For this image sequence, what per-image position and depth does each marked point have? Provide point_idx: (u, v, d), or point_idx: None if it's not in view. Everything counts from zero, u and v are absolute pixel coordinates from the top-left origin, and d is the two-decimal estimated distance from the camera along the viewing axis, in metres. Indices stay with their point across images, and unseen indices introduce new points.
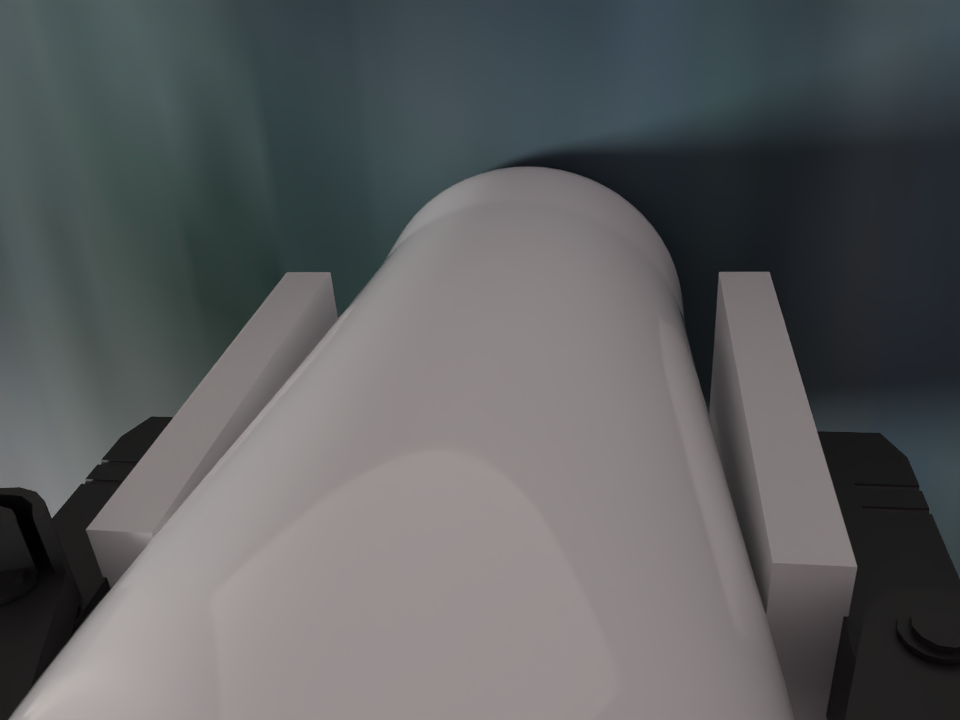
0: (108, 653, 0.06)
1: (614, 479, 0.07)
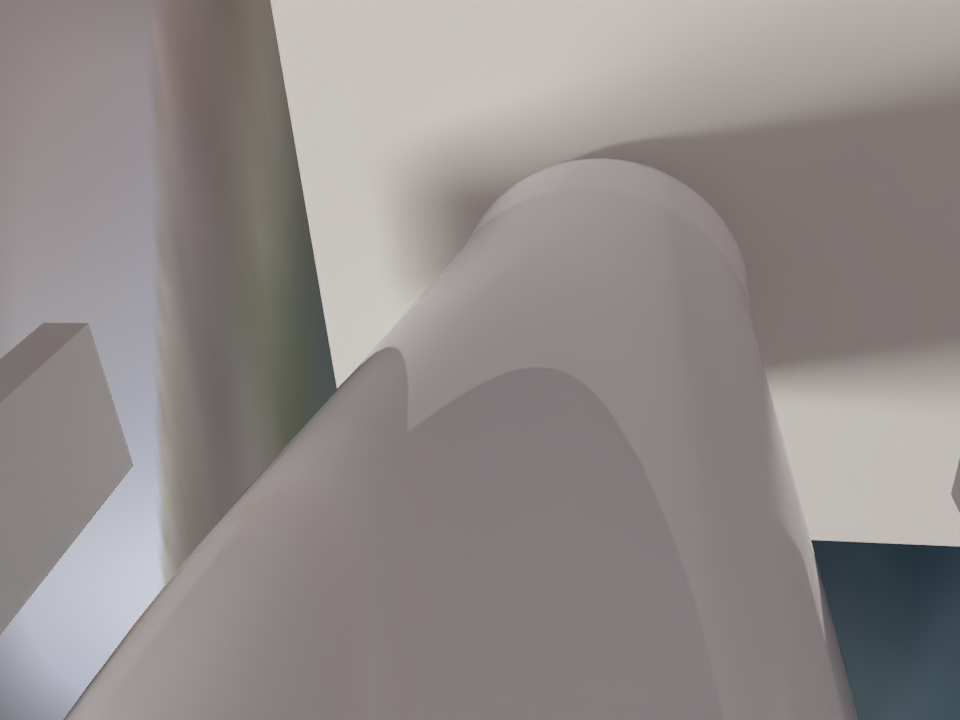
0: (238, 554, 0.07)
1: (686, 436, 0.08)
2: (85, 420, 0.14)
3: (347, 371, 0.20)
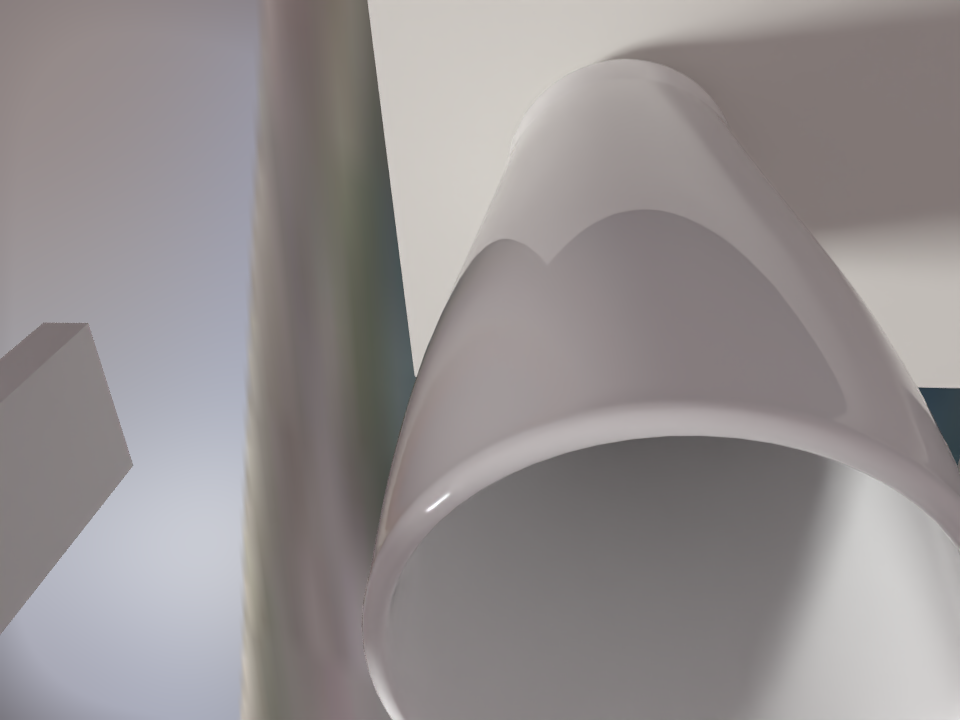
0: (530, 260, 0.11)
1: (765, 198, 0.13)
2: (85, 420, 0.14)
3: (409, 245, 0.24)
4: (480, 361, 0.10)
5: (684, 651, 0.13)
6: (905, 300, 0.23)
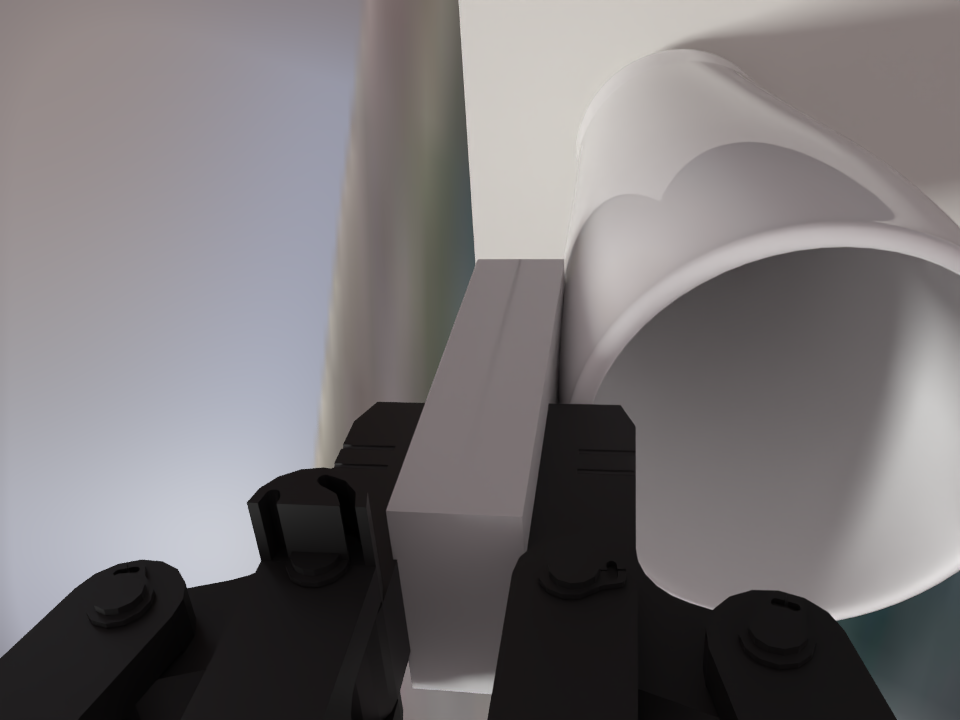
0: (672, 163, 0.14)
1: (837, 131, 0.16)
2: None
3: (481, 213, 0.28)
4: (653, 224, 0.13)
5: (775, 500, 0.16)
6: None
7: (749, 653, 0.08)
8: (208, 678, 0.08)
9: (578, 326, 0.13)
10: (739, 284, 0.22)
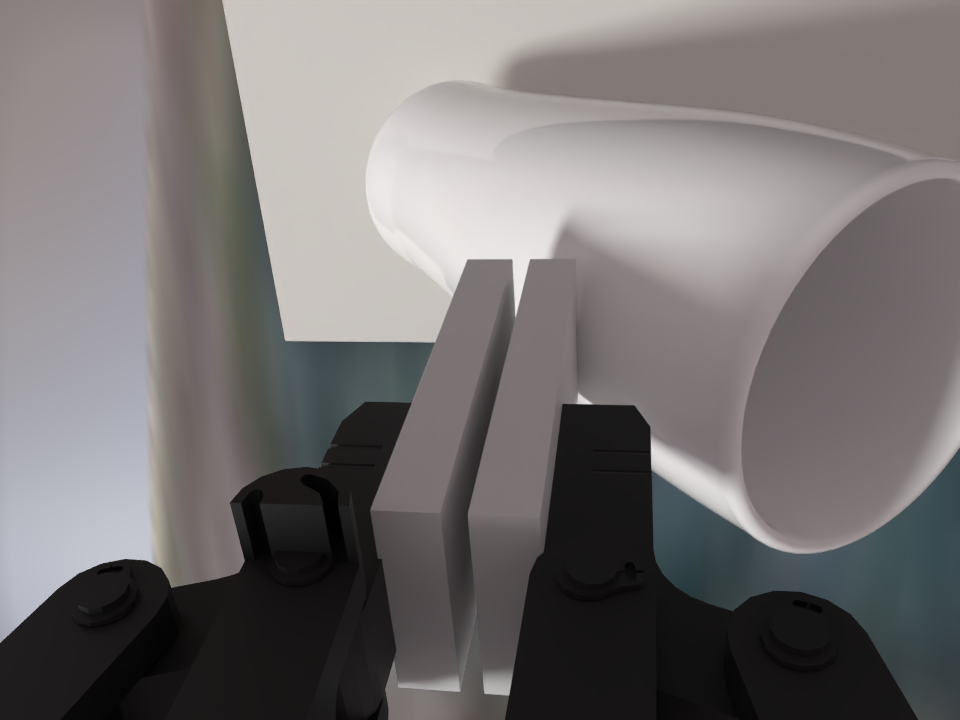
0: (666, 156, 0.15)
1: None
2: None
3: (273, 227, 0.29)
4: (721, 205, 0.14)
5: (764, 445, 0.18)
6: None
7: (770, 655, 0.08)
8: (192, 678, 0.08)
9: (682, 317, 0.13)
10: None
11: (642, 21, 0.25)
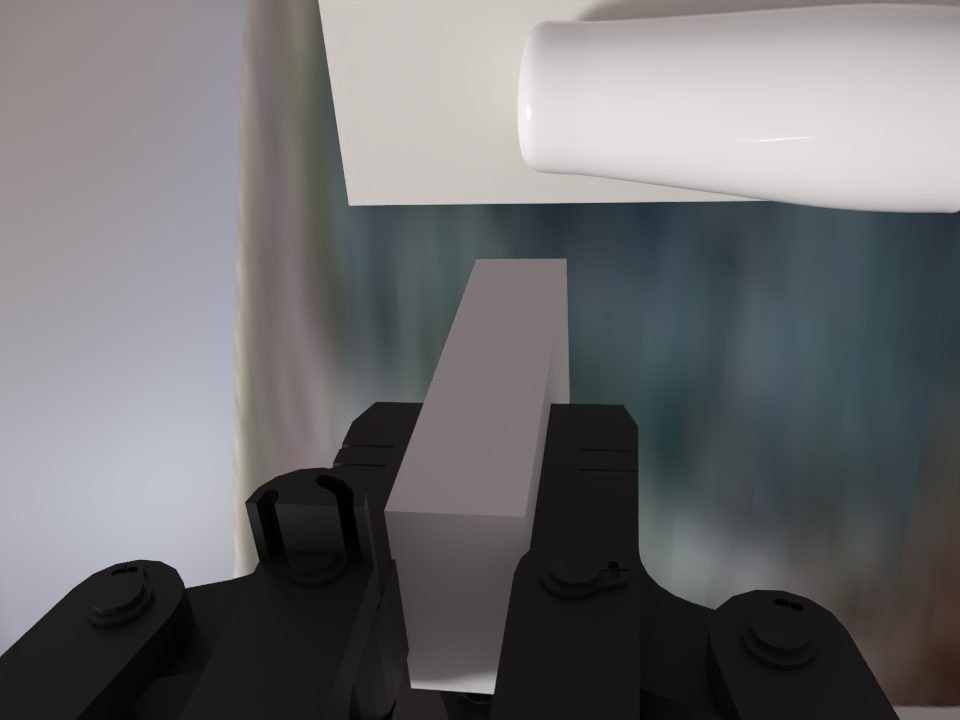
0: (881, 62, 0.28)
1: (799, 7, 0.30)
2: None
3: (341, 109, 0.37)
4: (944, 82, 0.27)
5: None
6: None
7: (752, 654, 0.08)
8: (206, 678, 0.08)
9: (949, 141, 0.28)
10: None
11: None
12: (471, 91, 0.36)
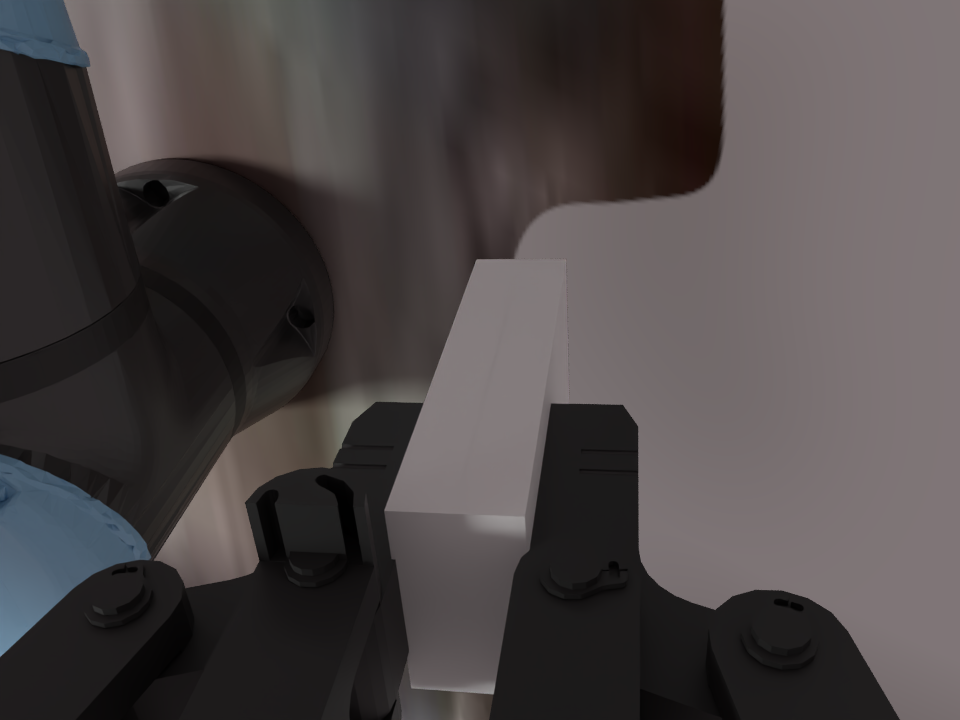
0: None
1: None
2: None
3: None
4: None
5: None
6: None
7: (752, 654, 0.08)
8: (206, 678, 0.08)
9: None
10: None
11: None
12: None
